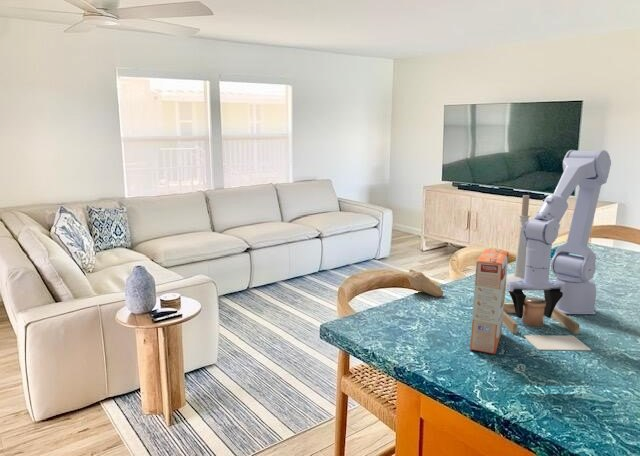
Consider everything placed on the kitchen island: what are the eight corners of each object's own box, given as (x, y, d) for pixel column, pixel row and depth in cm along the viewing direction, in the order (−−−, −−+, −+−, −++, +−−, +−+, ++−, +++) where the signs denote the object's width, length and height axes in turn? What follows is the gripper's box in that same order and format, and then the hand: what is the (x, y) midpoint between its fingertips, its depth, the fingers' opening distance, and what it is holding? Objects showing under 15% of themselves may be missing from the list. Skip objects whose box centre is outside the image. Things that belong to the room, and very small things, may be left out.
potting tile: (573, 336, 117) (573, 335, 117) (591, 350, 109) (591, 349, 109) (523, 336, 117) (523, 335, 117) (537, 350, 109) (538, 349, 109)
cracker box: (497, 355, 106) (503, 263, 102) (468, 350, 109) (474, 260, 105) (503, 333, 118) (509, 250, 115) (478, 329, 121) (483, 248, 117)
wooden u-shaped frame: (548, 311, 134) (549, 303, 134) (578, 334, 118) (579, 324, 118) (490, 311, 134) (491, 302, 134) (512, 333, 118) (513, 324, 118)
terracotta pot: (538, 319, 128) (540, 296, 127) (548, 327, 123) (550, 303, 122) (517, 318, 128) (519, 296, 127) (526, 326, 123) (528, 303, 122)
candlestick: (527, 291, 153) (535, 196, 147) (491, 282, 162) (497, 193, 157) (547, 284, 161) (555, 194, 155) (511, 275, 170) (518, 191, 165)
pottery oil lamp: (435, 301, 142) (436, 278, 141) (400, 293, 150) (400, 271, 149) (448, 294, 149) (449, 272, 148) (414, 287, 157) (415, 265, 155)
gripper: (556, 261, 127) (551, 311, 130) (502, 262, 127) (499, 312, 129) (571, 268, 120) (566, 320, 123) (515, 269, 120) (511, 321, 122)
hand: (533, 316), depth 125 cm, fingers open, 7 cm apart
